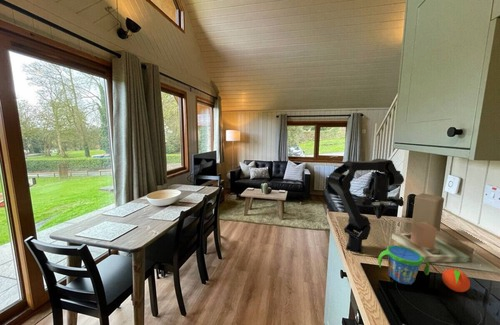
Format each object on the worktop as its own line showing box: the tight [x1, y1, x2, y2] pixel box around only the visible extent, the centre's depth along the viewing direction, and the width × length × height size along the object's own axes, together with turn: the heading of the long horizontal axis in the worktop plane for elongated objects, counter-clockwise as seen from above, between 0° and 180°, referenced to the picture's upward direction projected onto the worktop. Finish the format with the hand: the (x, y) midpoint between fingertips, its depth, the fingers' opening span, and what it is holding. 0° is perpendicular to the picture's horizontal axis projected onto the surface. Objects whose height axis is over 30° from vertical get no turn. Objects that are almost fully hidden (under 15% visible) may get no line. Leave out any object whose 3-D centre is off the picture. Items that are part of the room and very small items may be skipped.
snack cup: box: [377, 245, 431, 286], centre depth 77 cm, size 16×10×10 cm
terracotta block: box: [410, 223, 437, 247], centre depth 97 cm, size 6×6×9 cm
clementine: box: [441, 268, 471, 293], centre depth 72 cm, size 8×7×7 cm
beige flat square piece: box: [391, 230, 475, 263], centre depth 98 cm, size 20×20×6 cm
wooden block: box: [410, 192, 445, 232], centre depth 114 cm, size 10×10×20 cm
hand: (378, 218), depth 100 cm, fingers closed
